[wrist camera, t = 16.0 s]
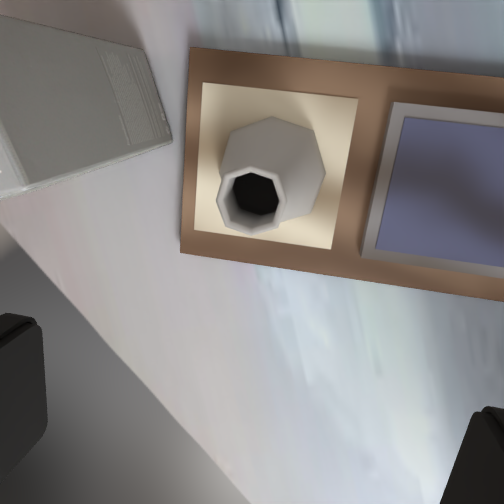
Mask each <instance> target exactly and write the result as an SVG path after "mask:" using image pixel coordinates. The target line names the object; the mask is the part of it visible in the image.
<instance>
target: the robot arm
mask: <svg viewBox="0 0 504 504" xmlns="http://www.w3.org/2000/svg"><path fill="white" fill-rule="evenodd" d="M47 420H48V419H47V403H46V385H45V370H44V354H43V337H42V329H41V327H40V326H38V325H37V322H36V321H35V319H34V318H32V317H28V316H22V315H17V314H11V313H5V314H3V315H0V484H1V483H2V481H3V480H4V479H5V478H6V477H7V476H8V475H9V473H10V472H11V471H12V470H13V469H14V468H15V467H16V466H17V465H18V463H19V462H20V461H21V460H22V459H23V458H24V457H25V456H26V454H27V453H28V452H29V451H30V450H31V449H32V448H33V446H34V445H35V444H36V443H37V442H38V441H39V440H40V438H41V437H42V436H43V434H44V432H45V430H46V427H47V422H48V421H47ZM440 504H504V409H501V408H496V407H491V406H487V407H485V408H484V409H482V411H481V412H475V413H474V414H473V415H472V417H471V420H470V422H469V425H468V428H467V431H466V433H465V436H464V439H463V441H462V444H461V447H460V450H459V452H458V455H457V458H456V461H455V463H454V466H453V469H452V471H451V474H450V477H449V480H448V482H447V485H446V488H445V490H444V493H443V496H442V499H441V501H440Z"/></svg>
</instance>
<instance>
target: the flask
mask: <svg viewBox="0 0 504 504" xmlns="http://www.w3.org/2000/svg"><path fill="white" fill-rule="evenodd" d="M219 174H220V177H221V183H220V187H219V190H218V194H217V197H216V203H217V206H218V209H219V211H220V214H221V217H222V219H223V222H224V225H225V227H227V228H230V229H233V230H236V231H239V232H242V233H245V234H247V235H250V236H253V235H256V234H259V233H263V232H266V231H269V230H273V229H276V228H278V227H279V224H280V222H284V221H287V220H290V219H294V218H297V217H300V216H304V215H307V214H310V213H311V212H312V209H313V206H314V204H315V201H316V199H317V196H318V193H319V191H320V188H321V185H322V183H323V180H324V178H325V175H326V171H325V168H324V164H323V161H322V157H321V154H320V150H319V147H318V143H317V140H316V136H315V133H314V130H311V129H308V128H305V127H302V126H299V125H296V124H293V123H290V122H287V121H285V120H282V119H279V118H276V117H273V116H271V117H268V118H265V119H263V120H260V121H257V122H254V123H252V124H249V125H246V126H244V127H241V128H238V129H235V130H233V131H231V132H230V135H229V139H228V142H227V146H226V149H225V153H224V157H223V160H222V164H221V167H220V171H219Z"/></svg>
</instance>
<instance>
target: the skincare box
mask: <svg viewBox="0 0 504 504" xmlns="http://www.w3.org/2000/svg"><path fill="white" fill-rule="evenodd" d="M172 142H173V139H172V136H171V133H170V130H169V127H168V124H167V120H166V117H165V114H164V111H163V108H162V105H161V102H160V99H159V96H158V93H157V90H156V87H155V84H154V80H153V77H152V74H151V71H150V68H149V65H148V62H147V59H146V56H145V53H144V51H143V49H139V48H135V47H131V46H126V45H122V44H118V43H114V42H109V41H106V40H102V39H97V38H93V37H89V36H85V35H82V34H78V33H73V32H69V31H65V30H61V29H57V28H53V27H49V26H45V25H41V24H37V23H32V22H28V21H24V20H20V19H16V18H12V17H8V16H4V15H0V201H1V200H5V199H9V198H12V197H16V196H20V195H23V194H27V193H31V192H34V191H37V190H40V189H43V188H45V187H48V186H51V185H54V184H57V183H60V182H63V181H66V180H68V179H71V178H74V177H77V176H80V175H83V174H85V173H88V172H91V171H94V170H97V169H100V168H103V167H106V166H109V165H111V164H114V163H117V162H120V161H123V160H126V159H129V158H131V157H134V156H137V155H140V154H142V153H145V152H148V151H150V150H153V149H156V148H159V147H162V146H165V145H167V144H170V143H172Z"/></svg>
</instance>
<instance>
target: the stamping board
mask: <svg viewBox="0 0 504 504" xmlns="http://www.w3.org/2000/svg"><path fill="white" fill-rule="evenodd" d="M271 116H273V117H276V118H279V119H282V120H285V121H287V122H290V123H293V124H296V125H299V126H302V127H305V128H308V129H311V130H314V133H315V136H316V140H317V143H318V147H319V150H320V154H321V157H322V161H323V164H324V168H325V171H326V175H325V178H324V180H323V183H322V185H321V188H320V191H319V193H318V196H317V199H316V201H315V204H314V206H313V209H312V212H311V213H310V214H307V215H304V216H300V217H297V218H294V219H290V220H287V221H284V222H280V224H279V227H278V228H276V229H273V230H269V231H266V232H263V233H259V234H256V235H253V236H250V235H247V234H245V233H242V232H239V231H236V230H233V229H230V228H227V227H225V225H224V222H223V219H222V217H221V214H220V211H219V209H218V206H217V203H216V197H217V194H218V190H219V187H220V183H221V177H220V174H219V171H220V167H221V164H222V160H223V157H224V153H225V149H226V146H227V142H228V139H229V135H230V132H231V131H233V130H235V129H238V128H241V127H244V126H246V125H249V124H252V123H254V122H257V121H260V120H263V119H265V118H268V117H271ZM180 253H185V254H191V255H198V256H205V257H211V258H218V259H224V260H231V261H238V262H244V263H251V264H257V265H264V266H271V267H277V268H284V269H290V270H297V271H304V272H310V273H317V274H323V275H330V276H337V277H343V278H350V279H356V280H363V281H370V282H376V283H383V284H389V285H396V286H403V287H409V288H416V289H422V290H429V291H436V292H442V293H449V294H455V295H462V296H469V297H475V298H482V299H488V300H495V301H502V302H504V78H502V77H492V76H482V75H471V74H461V73H451V72H441V71H431V70H420V69H410V68H400V67H390V66H380V65H369V64H359V63H349V62H339V61H329V60H318V59H308V58H298V57H288V56H278V55H267V54H257V53H247V52H237V51H227V50H216V49H206V48H196V47H190V55H189V76H188V97H187V118H186V138H185V159H184V180H183V201H182V222H181V243H180Z"/></svg>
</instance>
